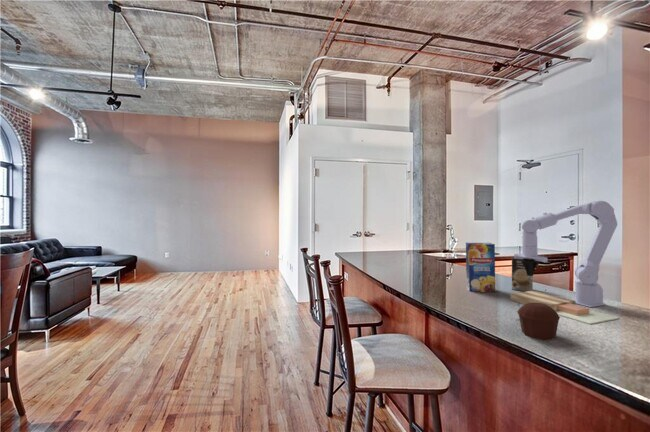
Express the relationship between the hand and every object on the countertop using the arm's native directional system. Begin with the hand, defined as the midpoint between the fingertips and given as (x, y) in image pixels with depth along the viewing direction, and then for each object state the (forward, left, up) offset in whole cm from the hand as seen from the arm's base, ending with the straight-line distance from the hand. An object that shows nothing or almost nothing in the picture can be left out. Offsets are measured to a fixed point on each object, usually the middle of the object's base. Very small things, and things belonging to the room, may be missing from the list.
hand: (530, 275), depth 140 cm
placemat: (+4, +25, -10) cm, 27 cm away
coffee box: (-11, -13, -11) cm, 20 cm away
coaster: (+4, +21, -10) cm, 23 cm away
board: (+4, +8, -10) cm, 14 cm away
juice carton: (+9, -20, -11) cm, 24 cm away
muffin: (+37, +31, -11) cm, 49 cm away
